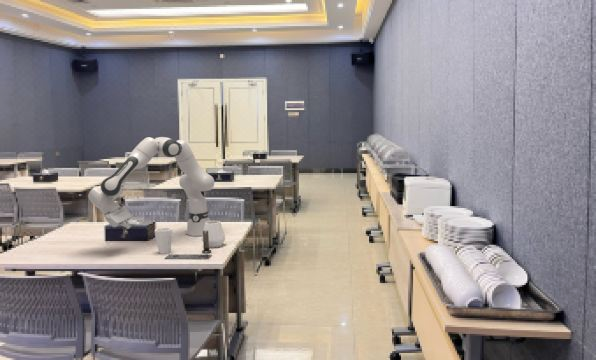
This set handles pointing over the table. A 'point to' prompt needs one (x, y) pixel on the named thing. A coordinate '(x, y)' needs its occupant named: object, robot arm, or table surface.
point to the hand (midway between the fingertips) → (129, 227)
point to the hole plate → (187, 256)
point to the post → (206, 243)
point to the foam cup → (164, 240)
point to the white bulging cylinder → (214, 233)
